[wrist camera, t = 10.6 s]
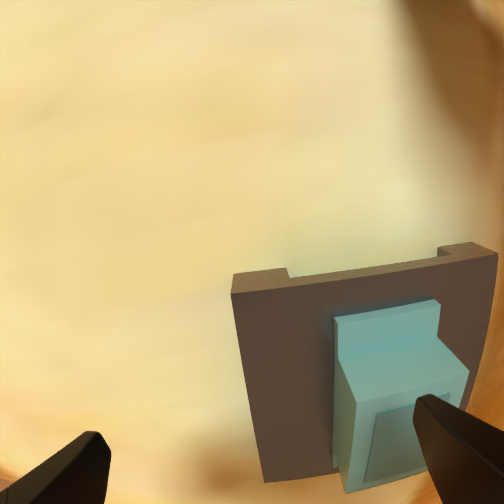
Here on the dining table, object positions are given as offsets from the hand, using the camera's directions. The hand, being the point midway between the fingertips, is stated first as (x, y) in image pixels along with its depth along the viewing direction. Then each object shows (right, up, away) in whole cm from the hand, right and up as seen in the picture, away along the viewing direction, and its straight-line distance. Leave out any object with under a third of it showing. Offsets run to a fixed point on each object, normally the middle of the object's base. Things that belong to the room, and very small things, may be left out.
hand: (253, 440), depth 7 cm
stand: (+8, -3, +13) cm, 15 cm away
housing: (+8, -4, +10) cm, 13 cm away
